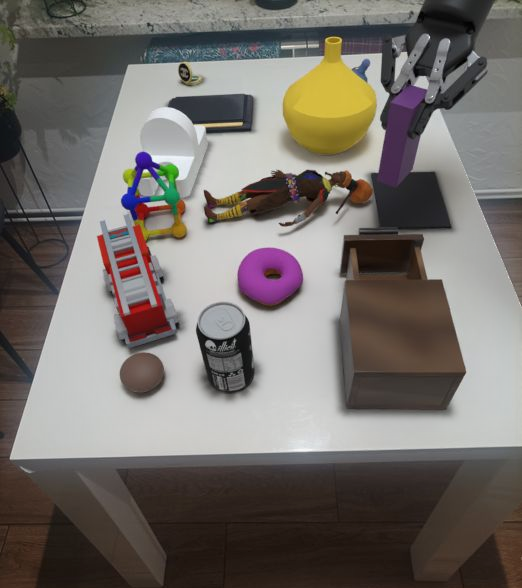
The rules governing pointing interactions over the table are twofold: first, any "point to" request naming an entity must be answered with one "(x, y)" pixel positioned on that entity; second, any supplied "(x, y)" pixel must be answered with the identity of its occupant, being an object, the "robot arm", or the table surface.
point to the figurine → (288, 194)
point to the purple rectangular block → (400, 137)
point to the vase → (329, 105)
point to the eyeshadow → (188, 74)
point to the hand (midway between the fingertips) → (398, 132)
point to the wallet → (217, 111)
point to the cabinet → (399, 345)
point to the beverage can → (226, 345)
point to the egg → (141, 372)
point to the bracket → (173, 148)
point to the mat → (411, 202)
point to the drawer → (382, 255)
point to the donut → (268, 263)
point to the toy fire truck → (135, 286)
